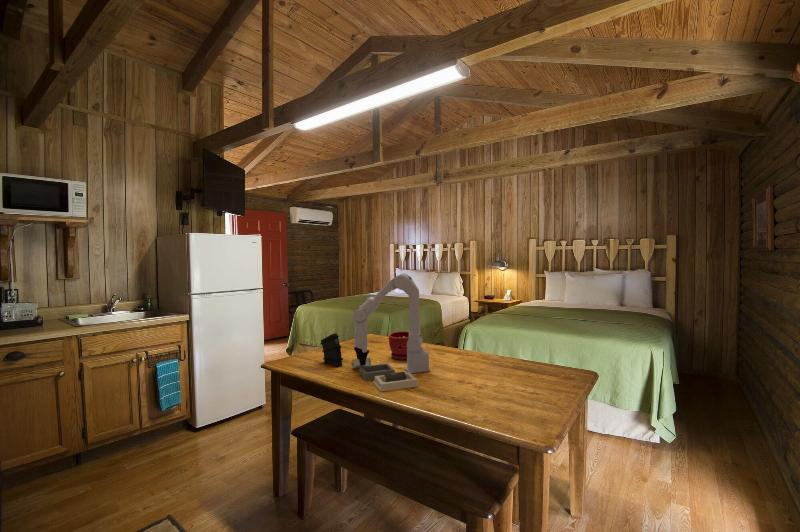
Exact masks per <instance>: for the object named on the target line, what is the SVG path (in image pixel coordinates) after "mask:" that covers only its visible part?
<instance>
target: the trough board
mask: <svg viewBox="0 0 800 532" xmlns="http://www.w3.org/2000/svg"><path fill="white" fill-rule="evenodd" d="M404 372H405V374H406V380H400V381H392V382H385V381H384V375H380V376H374V380H372V383H373V385H374V387H376V389H377V390H378V392H387V391H394V390H401V389H409V388H415V387H419V383H418V378H417V377H415V376H414V375H413V373H409V372H408V371H404Z"/></svg>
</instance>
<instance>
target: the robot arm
mask: <svg viewBox="0 0 800 532" xmlns="http://www.w3.org/2000/svg"><path fill="white" fill-rule="evenodd" d="M396 289H398V290H400V291H403V292H404V293H405V294H406V295H407V296H408V327H409V329H408V330H409V331H408V332H409V339H408V342H407V348H408V349H407V359H406V365H407V366H405V367H404V370H406V372H409V373H410V374H416V373H425V372H430V355H429V351H428V350H427V349H424V348H423V347H422V345H423V342H424V339H423V337H422V335H421V332H422V331H421V327H420V326H421V324H420V322H421V321H420V319H421V318H420V289H419V288H418V286H417V284H416V283H415V281H414V280H413V278H412V276H411V275H409V274H407V273H406V272H404V273H399V274H398V275H396V276H394V278H392V279H391V280H389V281H388V282H387V283H385V285H384V286H383V287H381V289H380V290H379V291H378V292H377V293H376V295H374V296H370V297H367V298H365V301H364V302H363V303H362V305H358V308H357V309H355V310H354V312H353V314H352V319H353V320H354V344H351V345H352V348H353V349H354V352H355V355H356V359H359V361H360V365H361V366H362V365H365V364H366V358H368V356H369V353H370V350H369V349H368V346H369V343H368V323H367V322H368V321H367V319H368V318H369V316H370V315H371V314H372V313H373V312H374V311H375V310H376V309H377V308H378V307H379V306H380V301H381V300H383V298H385V297H386V296H387V294H389V293H390V292H391V291H395V290H396Z"/></svg>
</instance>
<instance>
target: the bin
mask: <svg viewBox="0 0 800 532" xmlns="http://www.w3.org/2000/svg"><path fill="white" fill-rule="evenodd" d="M390 373H396V372H395V369H394V368H393V367H392V366H391V365H390V364H389V363H379V364H371V365H369V366H361V367H360V368H359V375H360V376H361V375H362V376H361V378H362V379H363V380H364V381H365V380H367V381H374V376H380V375H385V374H390Z"/></svg>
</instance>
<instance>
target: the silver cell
mask: <svg viewBox="0 0 800 532" xmlns="http://www.w3.org/2000/svg"><path fill="white" fill-rule="evenodd" d="M369 365H372V360H371V358H370V357H367V358H366V364H365V365H362V366H369ZM351 366H352V368H353V369H360V367H361V365H360V361H359V359H357V358H356V359H351Z"/></svg>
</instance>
